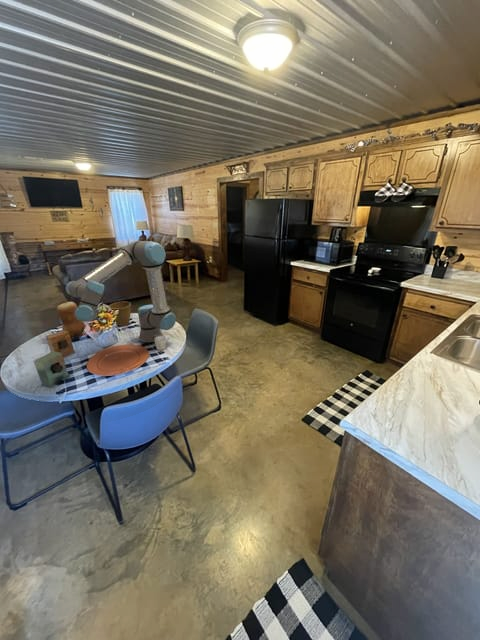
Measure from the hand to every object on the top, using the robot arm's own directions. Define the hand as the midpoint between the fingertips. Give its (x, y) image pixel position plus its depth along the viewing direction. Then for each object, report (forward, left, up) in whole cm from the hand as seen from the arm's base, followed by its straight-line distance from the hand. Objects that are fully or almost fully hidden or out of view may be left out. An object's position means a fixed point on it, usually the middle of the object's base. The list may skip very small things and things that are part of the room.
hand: (95, 314), depth 154 cm
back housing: (+8, -21, -24) cm, 33 cm away
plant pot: (-39, -9, -24) cm, 46 cm away
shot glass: (-8, +34, -24) cm, 43 cm away
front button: (+33, -2, -18) cm, 38 cm away
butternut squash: (-15, -30, -24) cm, 41 cm away
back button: (+10, -18, -18) cm, 27 cm away
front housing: (+32, -6, -24) cm, 41 cm away
